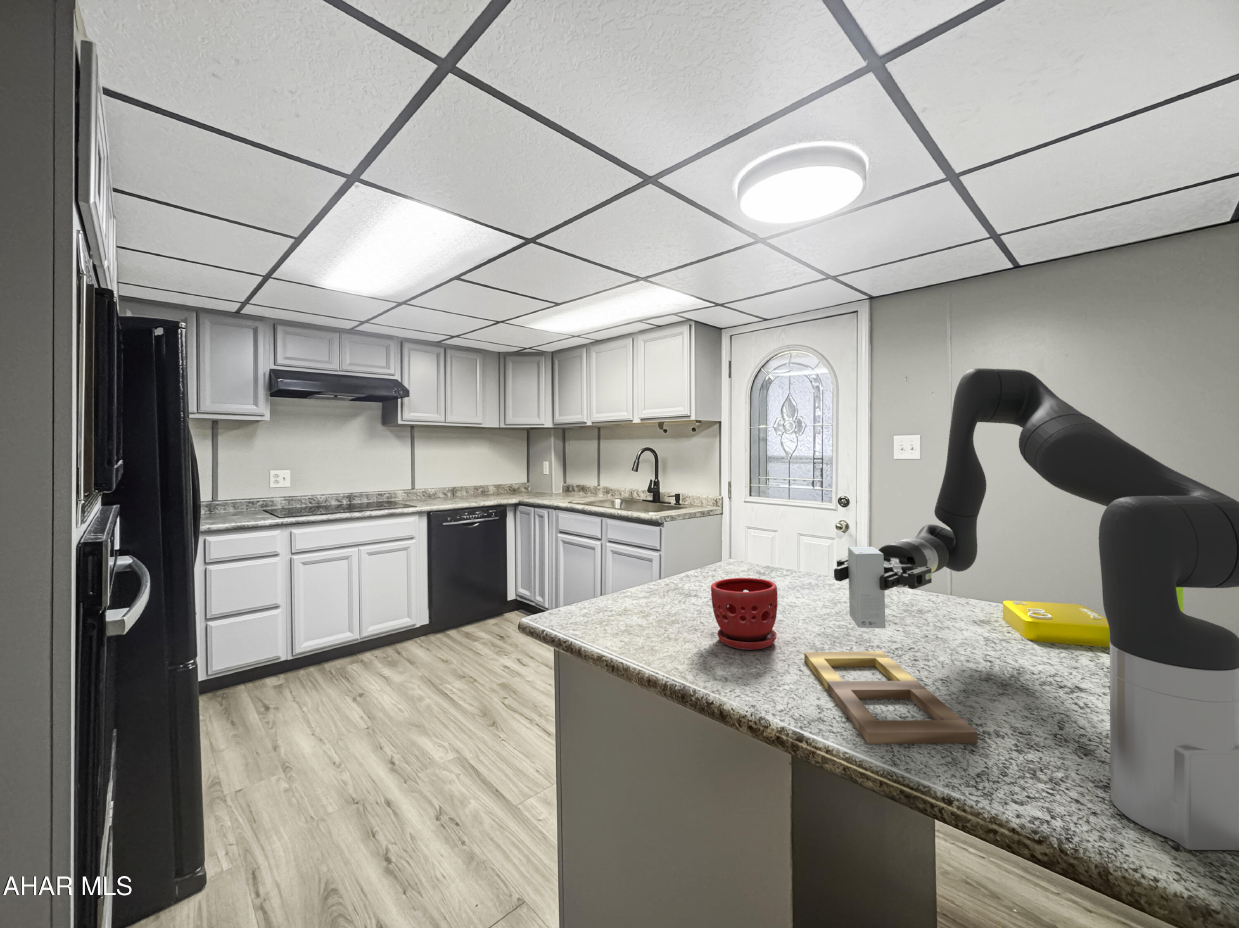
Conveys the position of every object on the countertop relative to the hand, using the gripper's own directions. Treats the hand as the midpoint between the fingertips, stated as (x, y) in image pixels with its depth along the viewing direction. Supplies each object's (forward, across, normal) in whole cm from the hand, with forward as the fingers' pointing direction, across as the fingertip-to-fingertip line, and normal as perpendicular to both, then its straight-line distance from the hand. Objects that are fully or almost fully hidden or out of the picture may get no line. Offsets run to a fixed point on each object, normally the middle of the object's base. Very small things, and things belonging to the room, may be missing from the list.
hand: (858, 579), depth 83 cm
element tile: (-53, +13, +19) cm, 58 cm away
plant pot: (-2, -25, +18) cm, 31 cm away
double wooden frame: (0, +3, +18) cm, 18 cm away
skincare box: (-2, 0, +8) cm, 8 cm away
